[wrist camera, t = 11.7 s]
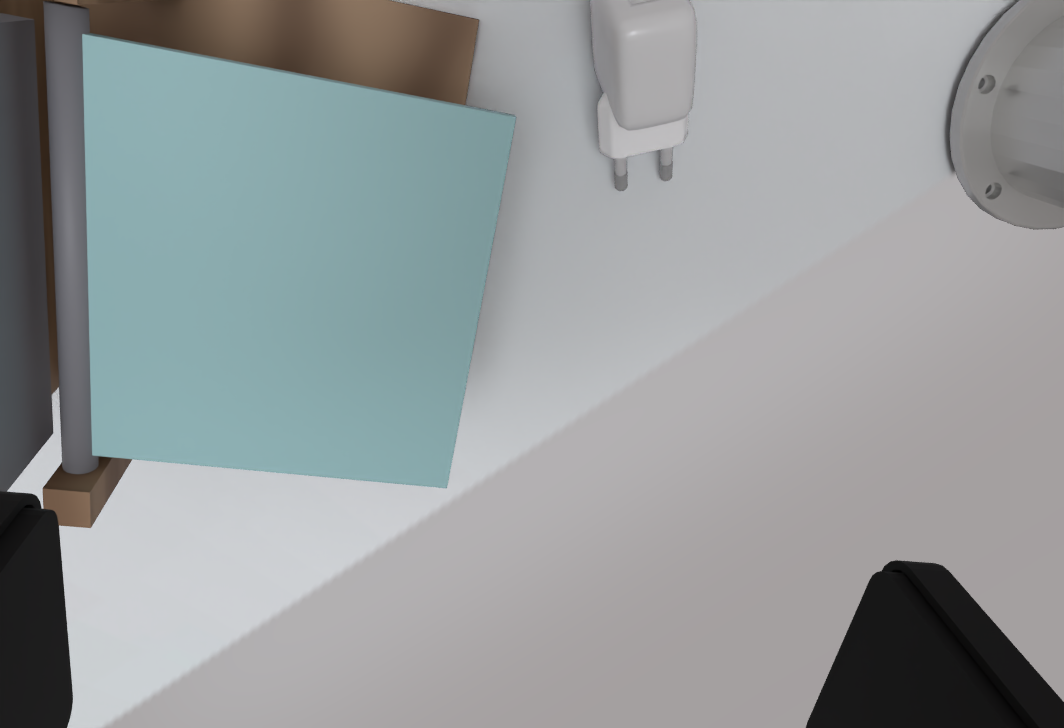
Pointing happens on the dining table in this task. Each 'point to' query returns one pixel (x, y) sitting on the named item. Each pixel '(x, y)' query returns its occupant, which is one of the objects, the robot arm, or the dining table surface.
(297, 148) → the flap
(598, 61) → the power adapter
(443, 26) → the stand
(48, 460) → the dining table surface
